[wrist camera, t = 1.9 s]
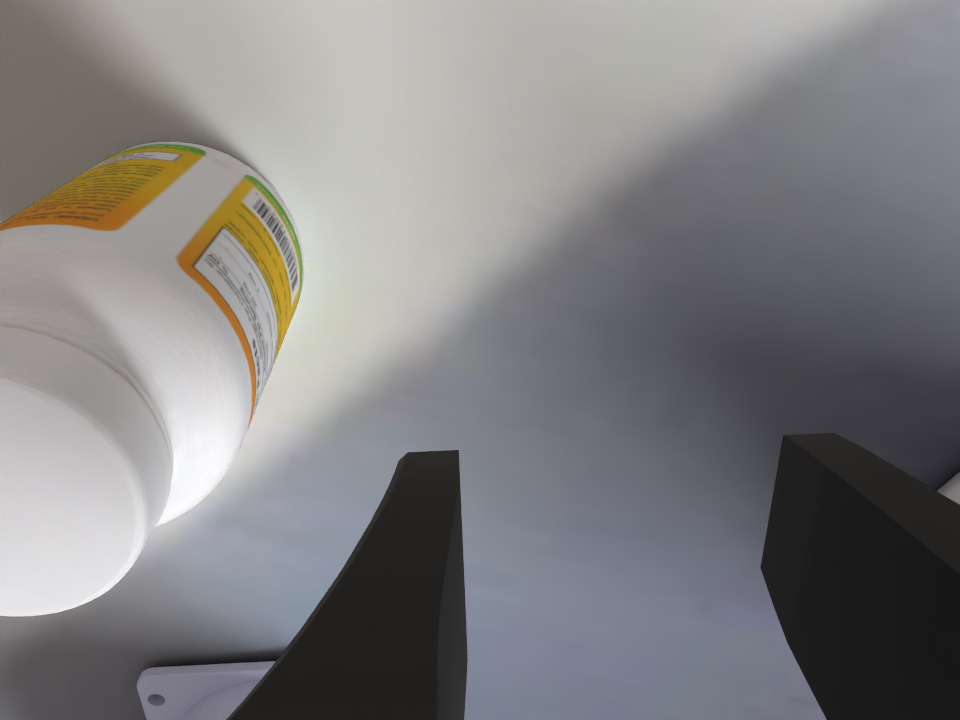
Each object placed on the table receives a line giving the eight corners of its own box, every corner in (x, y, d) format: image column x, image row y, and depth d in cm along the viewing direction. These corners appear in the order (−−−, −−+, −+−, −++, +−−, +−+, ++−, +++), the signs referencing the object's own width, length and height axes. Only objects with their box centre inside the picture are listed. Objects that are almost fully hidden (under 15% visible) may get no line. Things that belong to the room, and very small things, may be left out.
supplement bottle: (40, 291, 19) (-289, 570, 10) (121, 89, 17) (-202, 226, 9) (251, 390, 21) (114, 706, 12) (347, 213, 19) (267, 438, 10)
